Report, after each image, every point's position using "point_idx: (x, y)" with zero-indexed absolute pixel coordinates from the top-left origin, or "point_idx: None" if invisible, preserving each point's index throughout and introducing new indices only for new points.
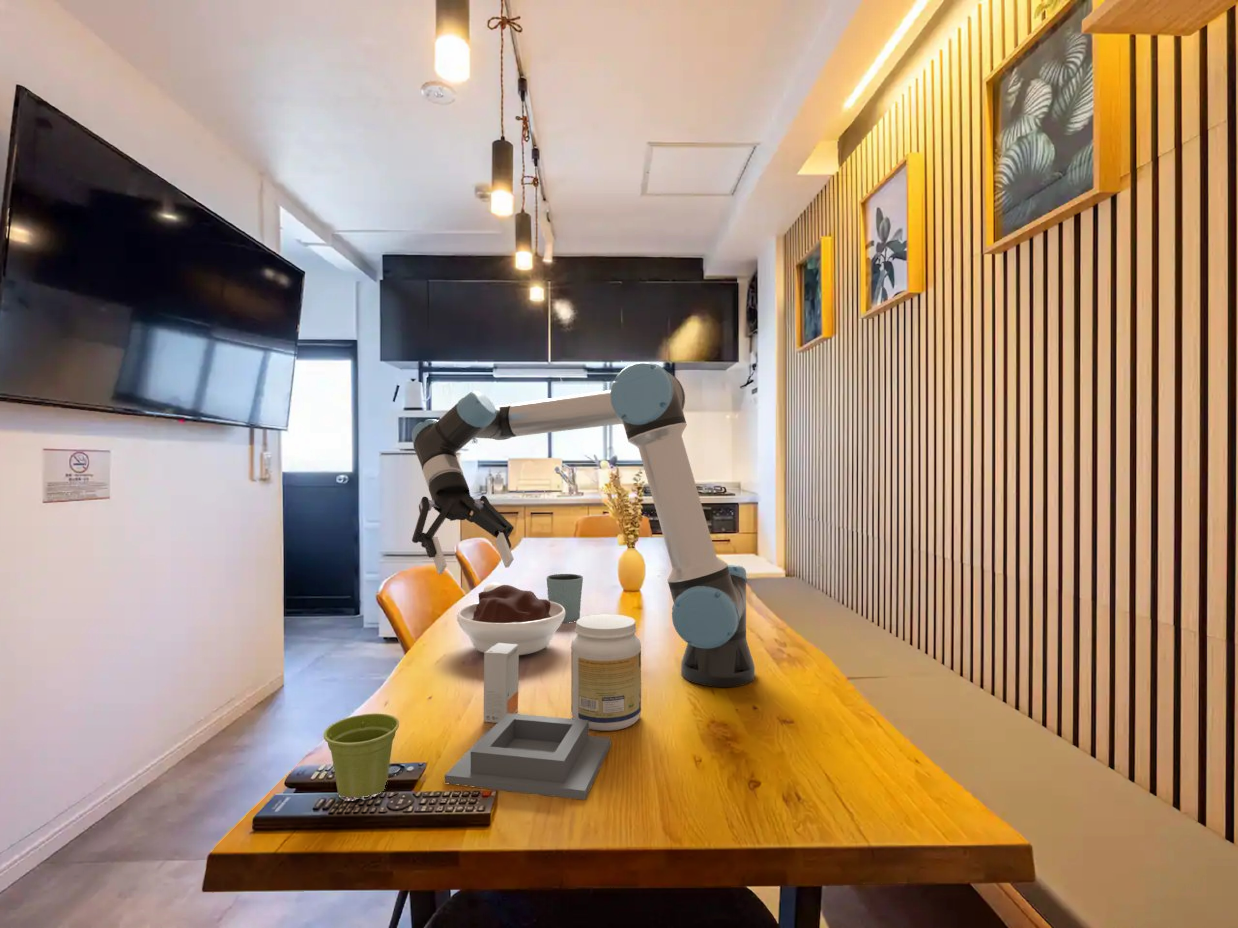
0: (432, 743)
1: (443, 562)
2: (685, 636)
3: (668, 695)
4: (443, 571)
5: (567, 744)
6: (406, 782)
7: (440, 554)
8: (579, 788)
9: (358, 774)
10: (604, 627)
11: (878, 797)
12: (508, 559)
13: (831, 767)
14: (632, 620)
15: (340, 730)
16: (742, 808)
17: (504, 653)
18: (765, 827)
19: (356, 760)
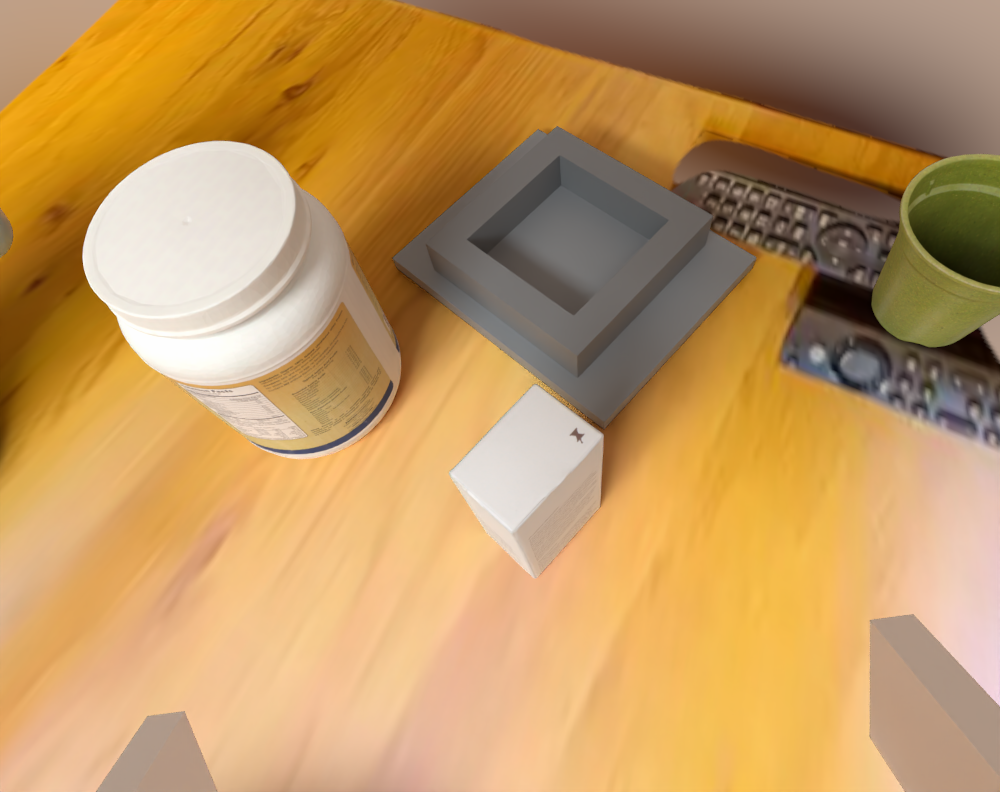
0: (754, 448)
1: (917, 642)
2: (8, 222)
3: (106, 427)
4: (870, 705)
5: (521, 172)
6: (828, 302)
7: (997, 724)
8: (543, 136)
9: (954, 225)
10: (249, 162)
11: (199, 23)
12: (185, 752)
13: (167, 85)
14: (116, 195)
15: None
16: (359, 57)
17: (540, 389)
18: (369, 23)
19: (975, 201)
